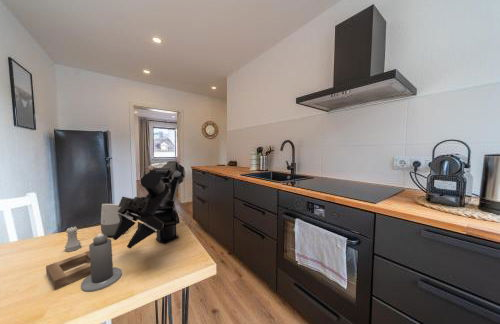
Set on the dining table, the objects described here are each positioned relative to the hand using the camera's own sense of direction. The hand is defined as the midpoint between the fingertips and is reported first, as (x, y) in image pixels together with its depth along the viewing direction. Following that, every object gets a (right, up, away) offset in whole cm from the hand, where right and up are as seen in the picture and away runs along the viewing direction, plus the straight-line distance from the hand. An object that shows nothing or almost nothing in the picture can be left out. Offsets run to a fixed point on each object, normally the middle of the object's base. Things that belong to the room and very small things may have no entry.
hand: (120, 243), depth 57 cm
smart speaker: (-20, -7, +25) cm, 32 cm away
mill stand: (-13, -8, -1) cm, 15 cm away
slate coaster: (-2, -8, -4) cm, 10 cm away
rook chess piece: (-26, -7, +12) cm, 30 cm away
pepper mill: (-2, -8, -4) cm, 9 cm away
